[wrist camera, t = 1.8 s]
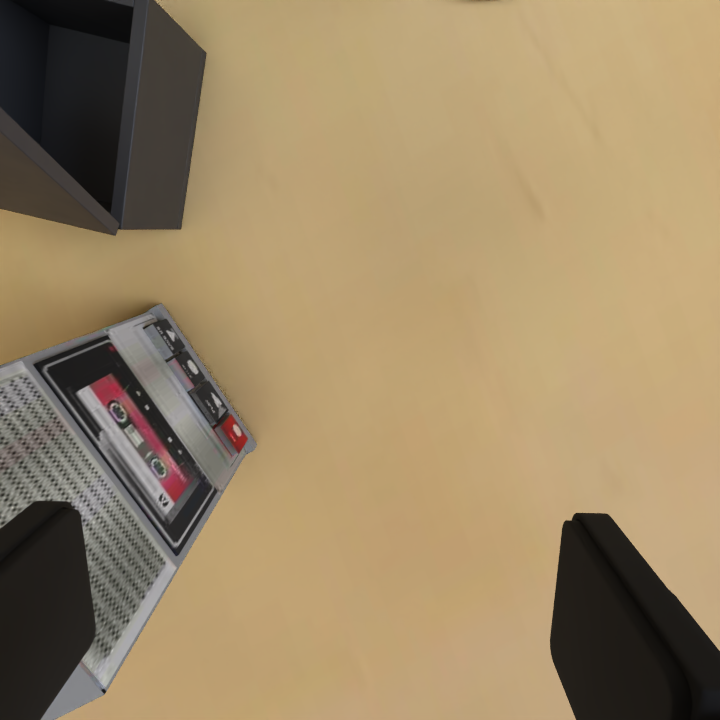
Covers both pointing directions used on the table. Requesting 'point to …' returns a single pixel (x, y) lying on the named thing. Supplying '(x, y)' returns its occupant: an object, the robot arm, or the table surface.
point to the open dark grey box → (107, 99)
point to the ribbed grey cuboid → (119, 467)
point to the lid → (44, 184)
